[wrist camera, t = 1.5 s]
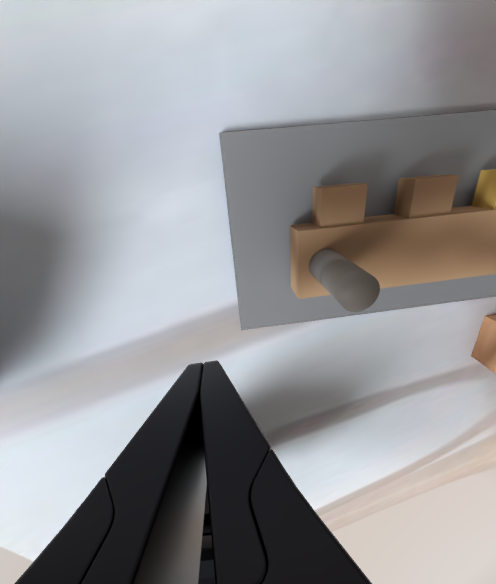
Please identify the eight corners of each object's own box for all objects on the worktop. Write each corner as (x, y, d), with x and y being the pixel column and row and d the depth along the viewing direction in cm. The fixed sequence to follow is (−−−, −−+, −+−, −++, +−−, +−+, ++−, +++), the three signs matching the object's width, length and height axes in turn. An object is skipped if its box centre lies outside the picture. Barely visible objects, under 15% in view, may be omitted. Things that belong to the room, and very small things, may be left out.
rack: (489, 262, 18) (601, 298, 13) (290, 286, 17) (323, 337, 12) (520, 166, 16) (675, 162, 10) (289, 189, 15) (329, 197, 9)
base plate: (558, 285, 20) (564, 287, 20) (241, 327, 19) (241, 330, 18) (643, 98, 15) (653, 96, 15) (219, 133, 14) (219, 132, 13)
